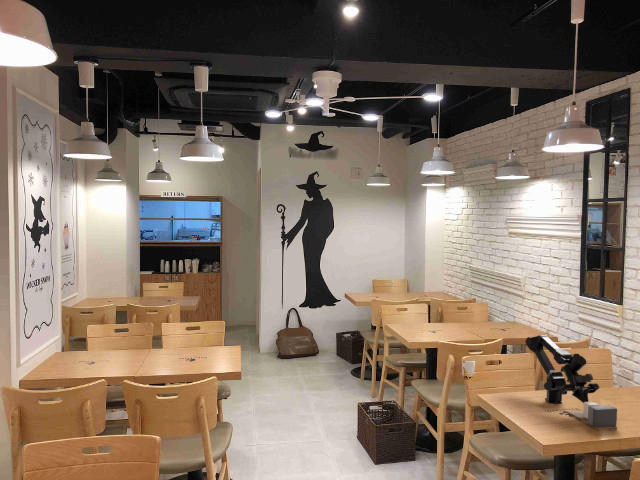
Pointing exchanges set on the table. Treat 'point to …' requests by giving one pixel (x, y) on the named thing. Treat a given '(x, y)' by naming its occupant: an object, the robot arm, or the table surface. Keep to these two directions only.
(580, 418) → the board
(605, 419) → the socket housing
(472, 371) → the white cup
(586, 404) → the plug
